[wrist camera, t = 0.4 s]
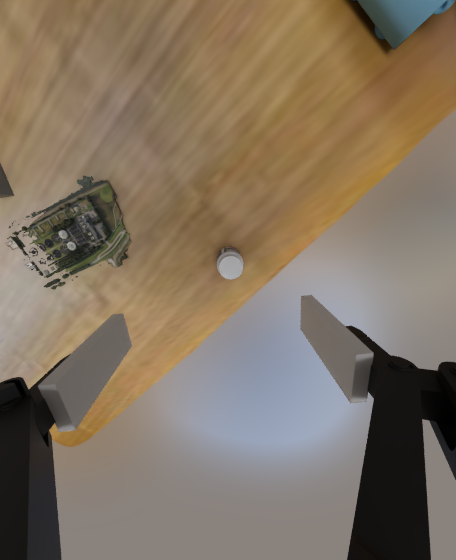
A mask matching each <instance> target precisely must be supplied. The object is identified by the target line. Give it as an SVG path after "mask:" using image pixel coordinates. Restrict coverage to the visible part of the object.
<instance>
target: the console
mask: <svg viewBox="0 0 456 560" xmlns="http://www.w3.org/2000/svg"><path fill="white" fill-rule="evenodd" d="M7 196H14V194H13V192H12V190H11V187H10V185H9V183H8V180H7V178H6V176H5V174H4V171H3V169H2V167H1V164H0V198H1V197H7Z"/></svg>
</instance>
